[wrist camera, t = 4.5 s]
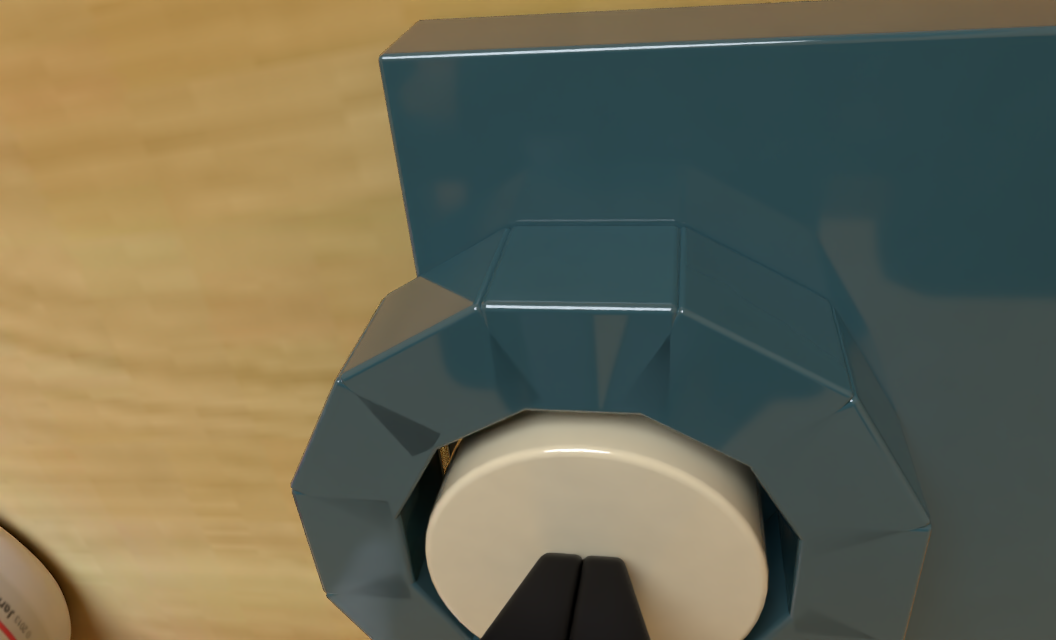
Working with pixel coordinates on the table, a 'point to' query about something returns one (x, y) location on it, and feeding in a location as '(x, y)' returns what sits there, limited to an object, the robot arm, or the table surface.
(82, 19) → the table surface
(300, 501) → the teal rectangular base
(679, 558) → the beige round cap
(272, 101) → the table surface
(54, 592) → the pill bottle
